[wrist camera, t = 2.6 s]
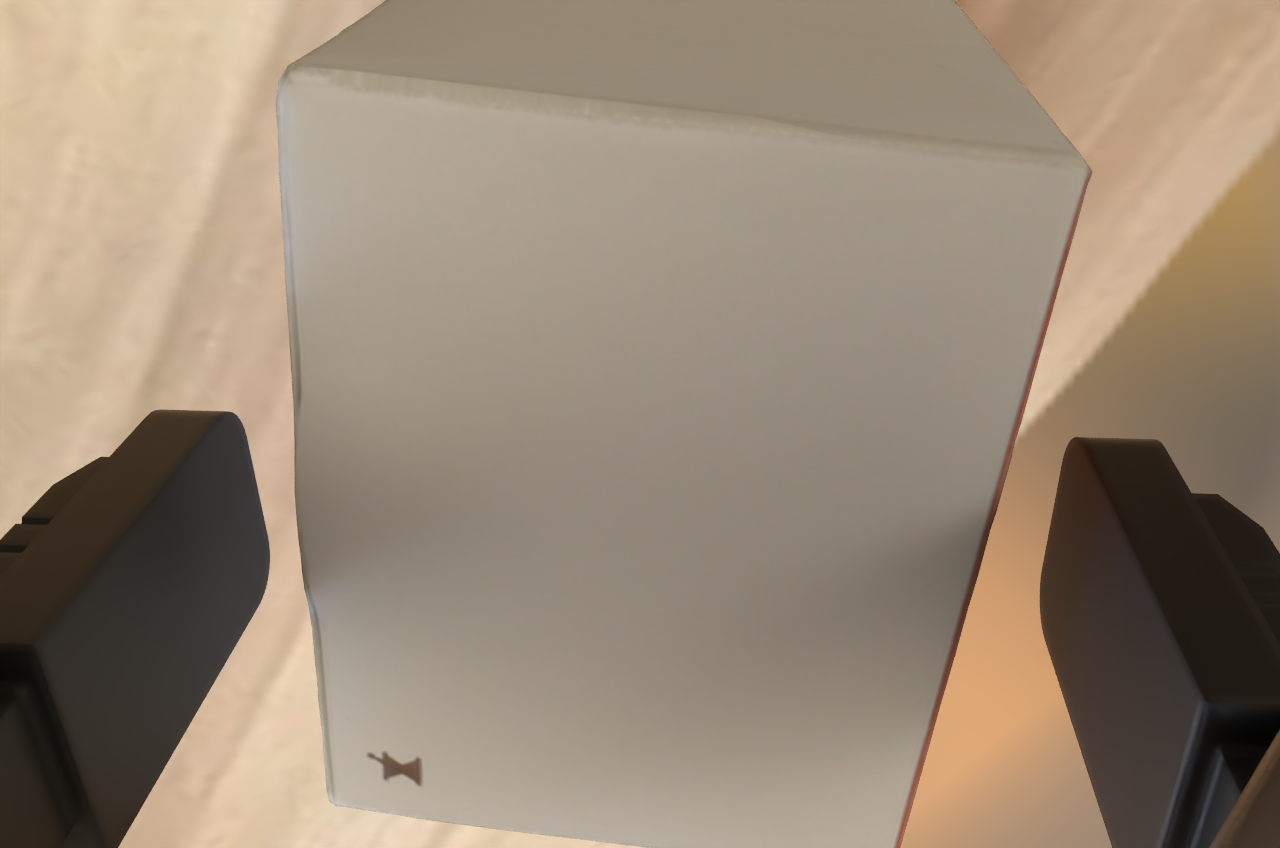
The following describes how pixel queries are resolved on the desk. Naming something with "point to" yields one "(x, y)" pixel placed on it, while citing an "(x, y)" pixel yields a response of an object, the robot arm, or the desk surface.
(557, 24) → the small box
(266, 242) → the desk surface
